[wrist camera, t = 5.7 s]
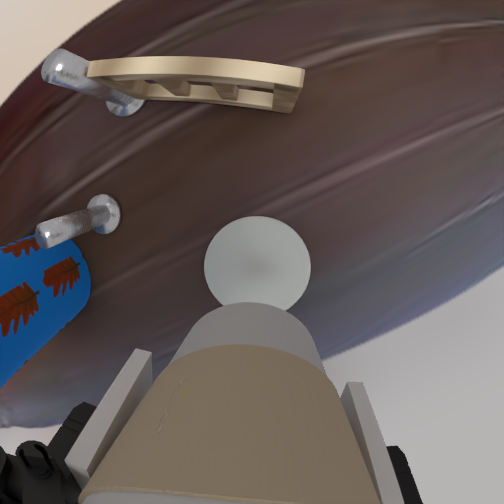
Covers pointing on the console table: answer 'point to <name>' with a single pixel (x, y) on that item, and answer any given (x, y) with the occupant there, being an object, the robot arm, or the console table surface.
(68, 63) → the hinge post
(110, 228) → the post
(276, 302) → the coaster
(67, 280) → the thermos
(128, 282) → the console table surface
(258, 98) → the gate
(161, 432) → the coffee cup
